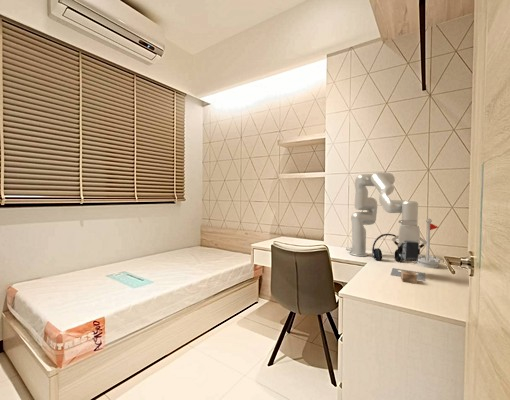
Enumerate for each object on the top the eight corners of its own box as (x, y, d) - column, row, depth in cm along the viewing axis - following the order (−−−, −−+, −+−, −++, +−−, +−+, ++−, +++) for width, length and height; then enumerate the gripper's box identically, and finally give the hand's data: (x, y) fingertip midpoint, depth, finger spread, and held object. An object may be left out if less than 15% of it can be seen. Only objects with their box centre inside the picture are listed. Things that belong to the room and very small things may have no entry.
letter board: (390, 276, 138) (390, 275, 138) (392, 269, 151) (392, 267, 151) (425, 282, 129) (425, 281, 129) (424, 273, 143) (424, 272, 143)
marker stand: (415, 266, 158) (416, 218, 157) (415, 261, 169) (416, 217, 168) (440, 269, 151) (442, 220, 150) (439, 264, 162) (441, 218, 161)
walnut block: (402, 283, 127) (402, 273, 127) (401, 279, 133) (401, 270, 133) (416, 285, 125) (416, 275, 125) (414, 281, 130) (414, 271, 130)
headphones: (374, 261, 168) (374, 234, 168) (371, 258, 175) (371, 232, 175) (406, 262, 165) (407, 235, 165) (401, 260, 172) (402, 233, 171)
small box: (418, 262, 134) (419, 242, 134) (405, 261, 135) (406, 241, 135) (411, 257, 144) (411, 238, 144) (398, 256, 146) (399, 238, 145)
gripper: (391, 222, 141) (390, 253, 141) (428, 225, 131) (427, 258, 132) (392, 221, 147) (391, 251, 148) (428, 223, 138) (427, 255, 138)
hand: (408, 254), depth 140 cm, fingers closed on small box, 7 cm apart
